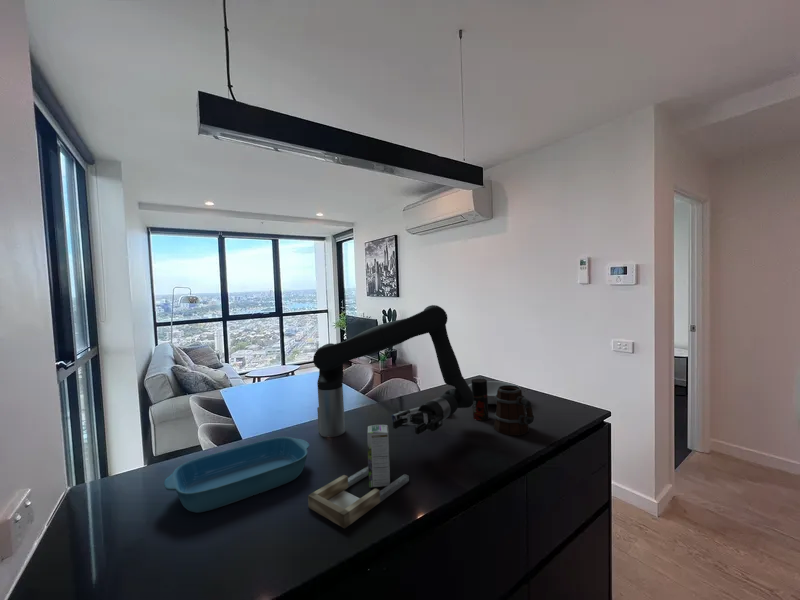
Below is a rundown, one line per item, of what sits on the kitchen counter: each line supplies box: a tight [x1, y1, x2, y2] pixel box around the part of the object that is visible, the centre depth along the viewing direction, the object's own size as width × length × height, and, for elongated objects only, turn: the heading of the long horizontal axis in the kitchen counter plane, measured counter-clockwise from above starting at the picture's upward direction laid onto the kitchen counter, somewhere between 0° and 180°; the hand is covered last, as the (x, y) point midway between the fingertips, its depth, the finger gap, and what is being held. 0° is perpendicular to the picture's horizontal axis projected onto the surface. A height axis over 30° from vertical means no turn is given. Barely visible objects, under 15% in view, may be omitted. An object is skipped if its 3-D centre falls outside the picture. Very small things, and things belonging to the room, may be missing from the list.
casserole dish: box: [163, 436, 310, 514], centre depth 96 cm, size 37×22×7 cm, turn 127°
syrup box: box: [366, 424, 391, 489], centre depth 93 cm, size 6×6×14 cm
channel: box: [348, 465, 410, 503], centre depth 92 cm, size 12×13×2 cm
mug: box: [493, 385, 535, 436], centre depth 122 cm, size 16×12×15 cm
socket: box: [307, 474, 381, 529], centre depth 83 cm, size 12×13×3 cm
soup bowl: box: [468, 380, 522, 405], centre depth 155 cm, size 24×24×7 cm
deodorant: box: [471, 378, 490, 422], centre depth 136 cm, size 6×6×15 cm
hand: (404, 428), depth 102 cm, fingers open, 8 cm apart
